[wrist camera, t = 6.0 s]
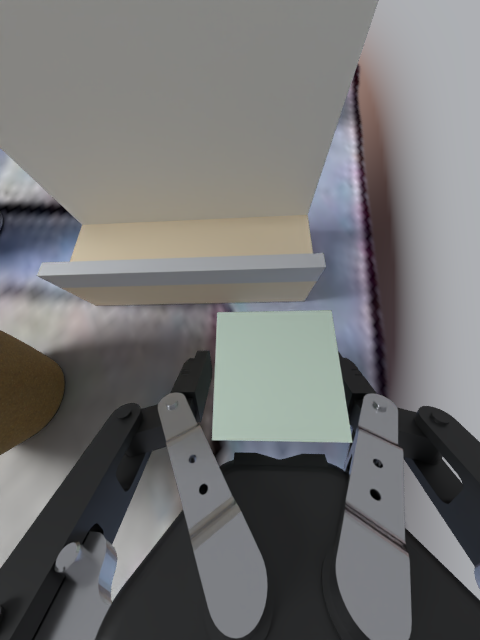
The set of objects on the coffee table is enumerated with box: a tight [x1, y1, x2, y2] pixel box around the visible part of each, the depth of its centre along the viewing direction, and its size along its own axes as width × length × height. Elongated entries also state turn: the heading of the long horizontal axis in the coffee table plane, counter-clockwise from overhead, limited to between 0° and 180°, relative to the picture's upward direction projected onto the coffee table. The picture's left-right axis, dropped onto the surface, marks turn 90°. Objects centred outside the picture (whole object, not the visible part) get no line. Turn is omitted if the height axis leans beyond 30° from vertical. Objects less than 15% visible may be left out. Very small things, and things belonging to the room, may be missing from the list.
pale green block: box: [212, 310, 353, 443], centre depth 12 cm, size 4×4×11 cm
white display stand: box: [0, 0, 378, 306], centre depth 14 cm, size 9×22×16 cm, turn 90°
